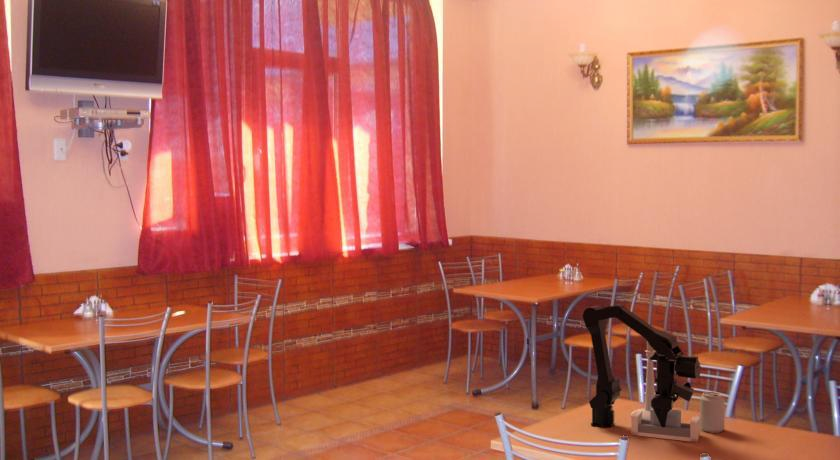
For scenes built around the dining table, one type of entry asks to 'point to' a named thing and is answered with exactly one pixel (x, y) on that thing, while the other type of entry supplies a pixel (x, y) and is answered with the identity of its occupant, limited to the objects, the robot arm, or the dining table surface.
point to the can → (712, 412)
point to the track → (665, 429)
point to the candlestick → (648, 384)
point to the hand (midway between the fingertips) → (665, 423)
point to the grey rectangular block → (672, 418)
